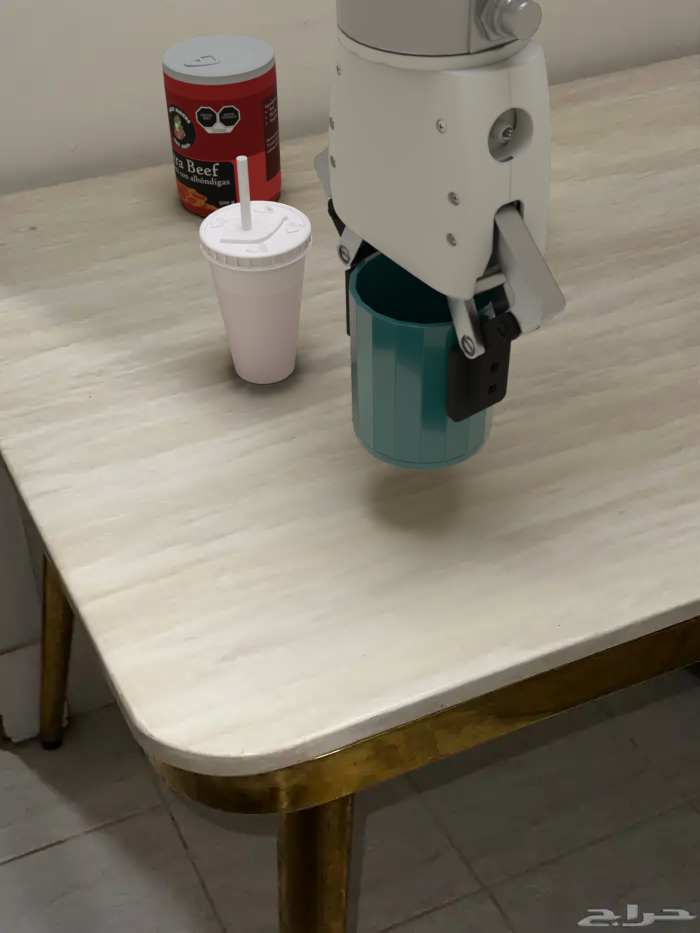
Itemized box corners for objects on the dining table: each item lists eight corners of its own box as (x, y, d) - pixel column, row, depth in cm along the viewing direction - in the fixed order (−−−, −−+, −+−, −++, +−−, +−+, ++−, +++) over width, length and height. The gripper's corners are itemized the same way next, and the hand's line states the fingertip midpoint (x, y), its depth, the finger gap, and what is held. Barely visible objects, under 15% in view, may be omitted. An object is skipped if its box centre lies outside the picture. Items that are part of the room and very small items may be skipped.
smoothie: (193, 362, 69) (166, 152, 60) (275, 324, 72) (262, 118, 63) (254, 411, 65) (236, 196, 56) (337, 369, 68) (334, 158, 59)
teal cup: (463, 371, 60) (471, 231, 54) (511, 455, 54) (526, 311, 49) (337, 394, 58) (332, 255, 53) (375, 483, 53) (374, 339, 47)
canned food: (158, 195, 85) (139, 52, 78) (241, 162, 89) (230, 24, 82) (218, 232, 81) (204, 85, 73) (302, 197, 85) (297, 54, 77)
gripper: (677, 40, 38) (607, 430, 50) (377, -81, 49) (379, 265, 61) (513, 98, 35) (480, 499, 47) (231, -45, 46) (263, 312, 58)
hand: (423, 365), depth 54 cm, fingers closed on teal cup, 7 cm apart
